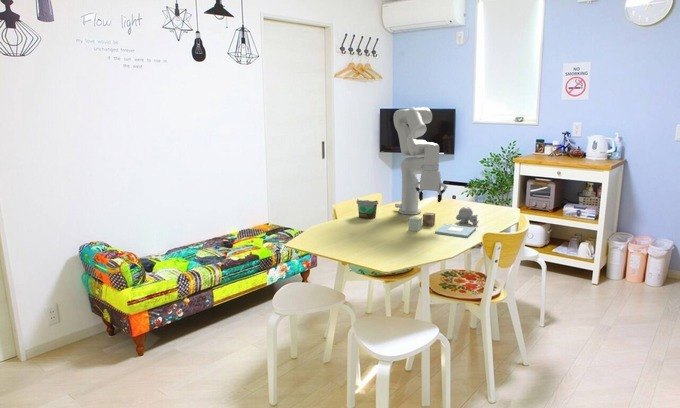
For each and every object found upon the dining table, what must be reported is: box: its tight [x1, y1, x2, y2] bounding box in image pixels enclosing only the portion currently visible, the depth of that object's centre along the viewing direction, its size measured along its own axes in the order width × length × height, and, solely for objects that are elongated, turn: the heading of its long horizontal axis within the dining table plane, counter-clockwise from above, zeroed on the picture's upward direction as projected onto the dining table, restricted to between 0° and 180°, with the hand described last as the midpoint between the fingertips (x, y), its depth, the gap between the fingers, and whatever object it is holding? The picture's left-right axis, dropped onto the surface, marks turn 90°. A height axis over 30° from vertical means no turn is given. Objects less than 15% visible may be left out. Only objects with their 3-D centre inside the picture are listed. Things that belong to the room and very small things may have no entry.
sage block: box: [408, 215, 423, 232], centre depth 252 cm, size 5×5×6 cm
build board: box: [434, 223, 477, 239], centre depth 249 cm, size 16×16×1 cm
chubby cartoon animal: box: [455, 206, 480, 226], centre depth 264 cm, size 7×12×8 cm, turn 43°
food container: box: [356, 198, 379, 220], centre depth 274 cm, size 12×6×10 cm, turn 68°
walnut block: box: [422, 212, 436, 227], centre depth 261 cm, size 5×5×6 cm
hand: (430, 201), depth 258 cm, fingers open, 9 cm apart
